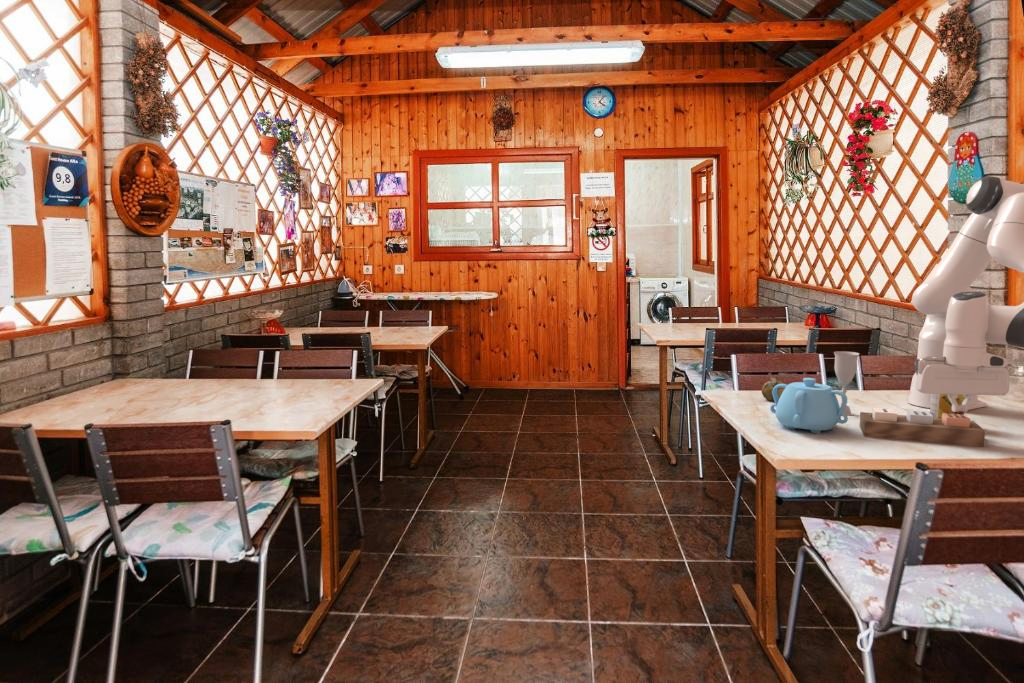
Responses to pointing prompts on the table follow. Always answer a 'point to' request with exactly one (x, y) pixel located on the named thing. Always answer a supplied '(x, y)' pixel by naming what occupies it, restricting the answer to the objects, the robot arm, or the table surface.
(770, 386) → the onion
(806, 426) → the decorative pot
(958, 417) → the tile three
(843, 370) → the chalice
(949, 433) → the button board
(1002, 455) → the table surface
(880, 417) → the tile one
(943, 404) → the canned food
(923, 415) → the tile two
